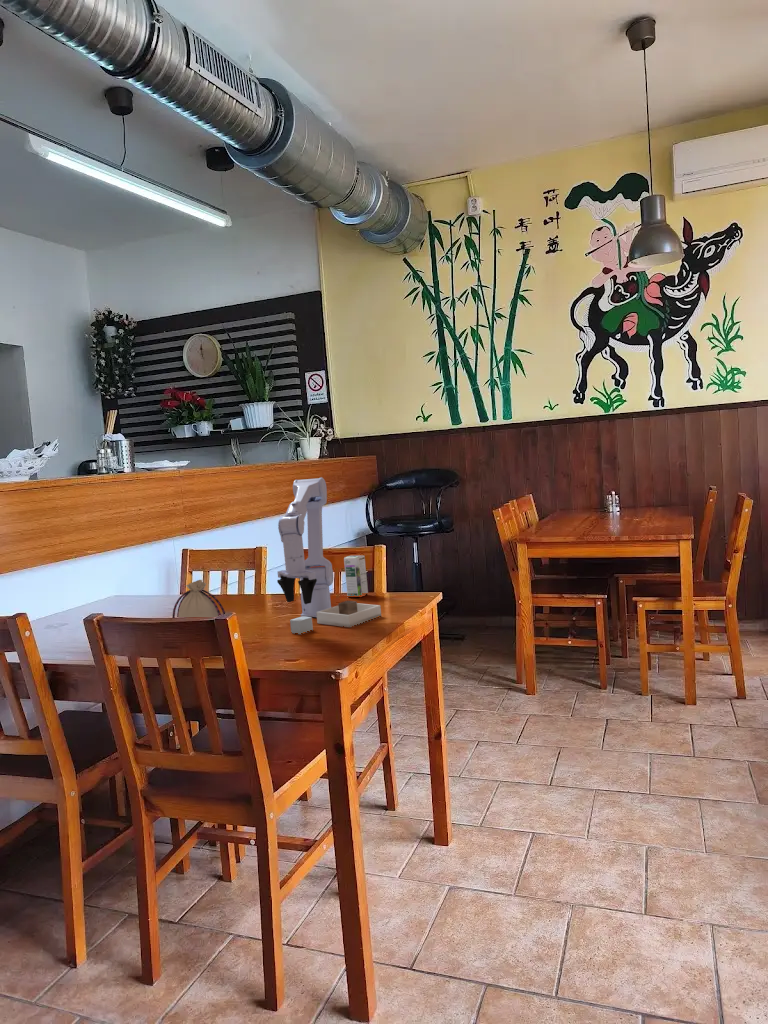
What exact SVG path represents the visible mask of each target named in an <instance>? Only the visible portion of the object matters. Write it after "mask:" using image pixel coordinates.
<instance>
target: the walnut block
mask: <svg viewBox="0 0 768 1024" xmlns="http://www.w3.org/2000/svg"><path fill="white" fill-rule="evenodd" d="M337 606H339V614H345V615H350V614H353V613H356V612H358V611H357V601H355V600H345V601H342V602H338V603H337Z"/></svg>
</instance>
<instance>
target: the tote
mask: <svg viewBox="0 0 768 1024" xmlns="http://www.w3.org/2000/svg"><path fill="white" fill-rule="evenodd" d="M381 607H382V606H381V605H380V604H368V603H357V611H358V612H356V613H353V614H350V615H345V614H339V606H338V605H336V606H331V608H328V609H325V610H321V611H318V612H316V615H317V617H316V622H317V624H320V625H328V626H335V627H336V626H337V627H343V626H344V627H343V628H353V627H355V626H354V625H356V626H358V625H361V624H364V623H366V622H365V621H367V622H369V621H368V620H370V619H373V618H376V617H378V616H381V617H382V609H381ZM376 619H377V618H376ZM373 620H374V619H373ZM370 621H371V620H370ZM363 622H364V623H363ZM360 623H361V624H360ZM357 624H358V625H357ZM352 626H353V627H352Z"/></svg>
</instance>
